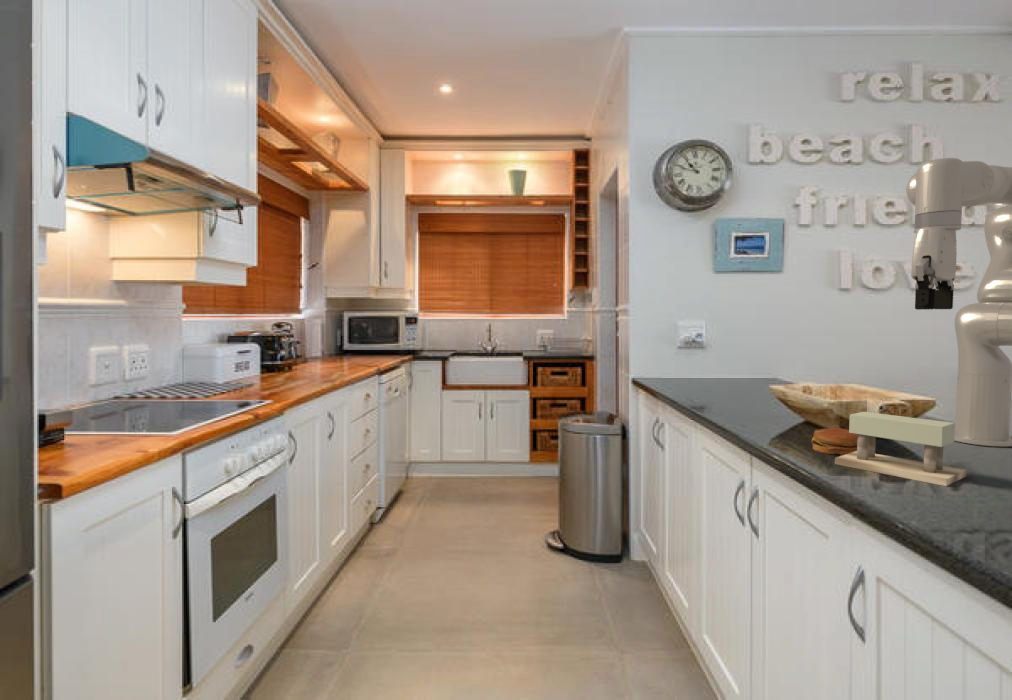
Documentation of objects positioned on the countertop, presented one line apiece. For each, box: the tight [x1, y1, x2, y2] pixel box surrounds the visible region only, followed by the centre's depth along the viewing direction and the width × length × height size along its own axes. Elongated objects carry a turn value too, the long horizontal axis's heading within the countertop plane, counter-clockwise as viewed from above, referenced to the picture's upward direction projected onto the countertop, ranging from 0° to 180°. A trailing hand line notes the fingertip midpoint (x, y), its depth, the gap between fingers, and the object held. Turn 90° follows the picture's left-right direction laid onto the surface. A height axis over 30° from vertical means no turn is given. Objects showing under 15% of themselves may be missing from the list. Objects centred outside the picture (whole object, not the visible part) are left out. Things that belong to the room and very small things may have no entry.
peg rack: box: [834, 434, 967, 487], centre depth 107 cm, size 10×18×6 cm, turn 36°
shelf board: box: [848, 411, 955, 448], centre depth 106 cm, size 6×15×4 cm, turn 35°
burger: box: [810, 427, 858, 456], centre depth 122 cm, size 10×9×5 cm
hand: (934, 309), depth 115 cm, fingers open, 9 cm apart
